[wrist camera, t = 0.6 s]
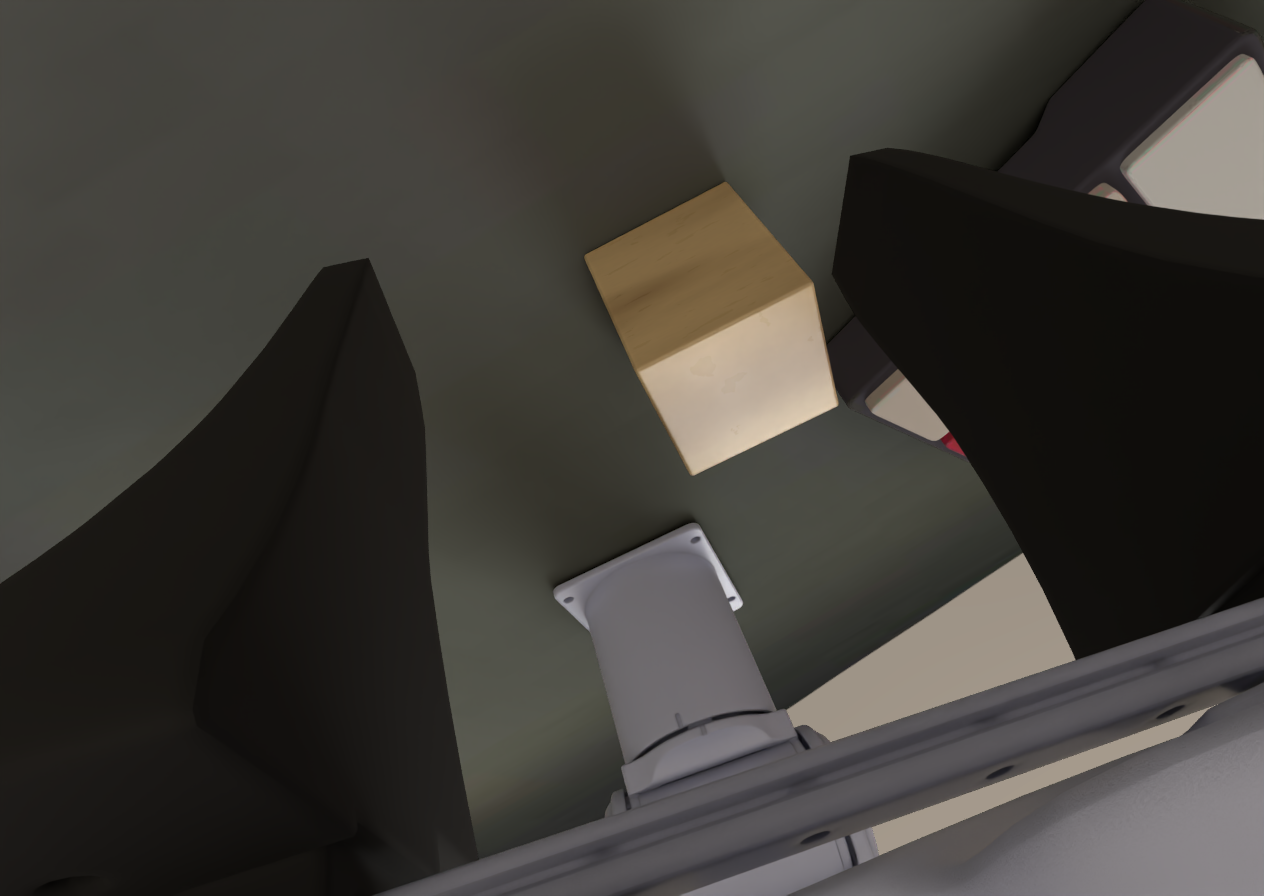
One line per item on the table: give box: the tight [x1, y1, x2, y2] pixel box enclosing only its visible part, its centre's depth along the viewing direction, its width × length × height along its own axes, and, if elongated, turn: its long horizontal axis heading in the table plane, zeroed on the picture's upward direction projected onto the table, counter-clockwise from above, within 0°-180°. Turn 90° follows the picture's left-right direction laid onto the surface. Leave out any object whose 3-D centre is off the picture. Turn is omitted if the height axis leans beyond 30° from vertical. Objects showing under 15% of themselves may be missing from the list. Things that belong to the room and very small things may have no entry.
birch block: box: [584, 182, 838, 476], centre depth 21 cm, size 5×5×6 cm
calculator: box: [826, 0, 1264, 463], centre depth 26 cm, size 11×4×15 cm
